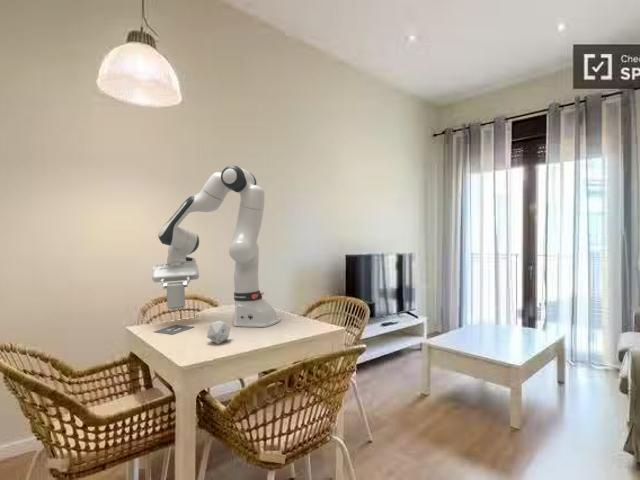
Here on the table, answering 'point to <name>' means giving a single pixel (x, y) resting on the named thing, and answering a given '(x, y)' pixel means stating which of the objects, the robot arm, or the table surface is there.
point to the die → (218, 332)
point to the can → (175, 295)
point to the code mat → (173, 329)
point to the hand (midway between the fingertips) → (175, 287)
